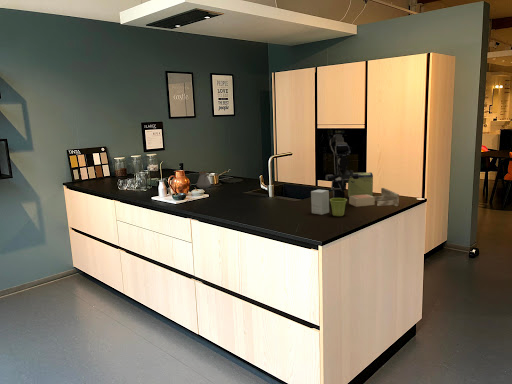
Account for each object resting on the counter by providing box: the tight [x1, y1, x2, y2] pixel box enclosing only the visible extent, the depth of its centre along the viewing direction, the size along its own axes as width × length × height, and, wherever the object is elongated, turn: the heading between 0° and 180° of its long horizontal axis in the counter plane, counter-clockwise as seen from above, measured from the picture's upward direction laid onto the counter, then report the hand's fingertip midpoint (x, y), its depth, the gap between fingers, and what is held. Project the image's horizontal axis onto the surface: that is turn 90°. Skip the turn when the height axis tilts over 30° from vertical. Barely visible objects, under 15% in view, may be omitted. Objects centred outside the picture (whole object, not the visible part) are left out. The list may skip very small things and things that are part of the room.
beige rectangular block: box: [348, 194, 376, 208], centre depth 252 cm, size 12×9×5 cm
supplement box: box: [310, 189, 330, 216], centre depth 235 cm, size 7×7×13 cm
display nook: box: [374, 187, 400, 207], centre depth 253 cm, size 11×22×7 cm, turn 6°
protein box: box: [347, 172, 374, 200], centre depth 271 cm, size 10×16×16 cm
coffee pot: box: [196, 170, 215, 190], centre depth 331 cm, size 21×12×15 cm, turn 38°
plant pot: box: [329, 197, 348, 217], centre depth 228 cm, size 9×9×9 cm
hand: (342, 191), depth 250 cm, fingers closed
